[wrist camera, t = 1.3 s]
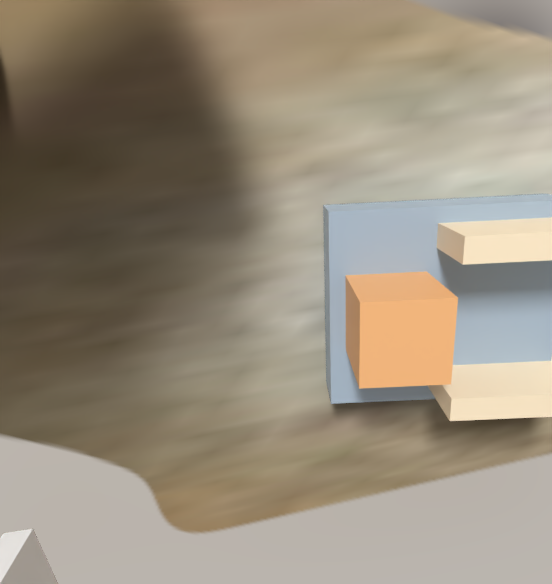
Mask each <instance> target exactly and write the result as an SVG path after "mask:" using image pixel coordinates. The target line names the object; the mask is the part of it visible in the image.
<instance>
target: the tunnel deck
mask: <svg viewBox="0 0 552 584" xmlns="http://www.w3.org/2000/svg"><path fill="white" fill-rule="evenodd" d="M323 211H324V271H325V332H326V382H327V387H328V392H329V396H330V401H331V404H335V403H357V402H379V401H401V400H424V399H436V400H437V402H438V403H439V405H440V406H441V408H442V410H443V411H444V413H445V414H446V416H447V418H448V419H449V421H465V420H488V419H510V418H533V417H552V361H551V357H552V195H550V194H534V195H514V196H494V197H474V198H454V199H435V200H415V201H395V202H375V203H355V204H336V205H323ZM425 271H427V272H428V273H429V274H430V275H432V276H433V277H434V278H435V279H436V280H438V281H439V282H440V283H441V284H442V285H444V286H445V287H446V288H447V289H448V290H449V291H451V292H452V293H453V294H454V295H455V296H457V297H458V305H457V318H456V330H455V342H454V355H453V367H452V379H451V384H449V385H427V386H405V387H383V388H361V389H359V386H358V383H357V381H356V378H355V375H354V372H353V369H352V366H351V363H350V360H349V357H348V355H347V352H346V287H345V275H363V274H383V273H404V272H425Z"/></svg>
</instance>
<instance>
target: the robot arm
mask: <svg viewBox="0 0 552 584" xmlns="http://www.w3.org/2000/svg"><path fill="white" fill-rule="evenodd" d="M0 584H58V583H57V580H56V578H55V576H54V574H53V572H52V569H51V567H50V565H49V563H48V561H47V558H46V556H45V554H44V552H43V550H42V547H41V545H40V543H39V541H38V539H37V536H36V534H35V532H34V530H33V529H27V530H20V531H14V532H7V533H3V535H2V536H1V538H0Z"/></svg>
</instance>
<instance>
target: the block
mask: <svg viewBox="0 0 552 584" xmlns="http://www.w3.org/2000/svg"><path fill="white" fill-rule="evenodd" d="M345 287H346V352H347V355H348V357H349V360H350V363H351V366H352V369H353V372H354V375H355V378H356V381H357V383H358V386H359V389H361V388H383V387H405V386H427V385H449V384H451V379H452V367H453V355H454V342H455V330H456V318H457V305H458V297H457V296H455V295H454V294H453V293H452V292H451V291H449V290H448V289H447V288H446V287H445V286H444V285H442V284H441V283H440V282H439V281H438V280H436V279H435V278H434V277H433V276H432V275H430V274H429V273H428V272H427V271H425V272H404V273H383V274H363V275H345Z"/></svg>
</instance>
